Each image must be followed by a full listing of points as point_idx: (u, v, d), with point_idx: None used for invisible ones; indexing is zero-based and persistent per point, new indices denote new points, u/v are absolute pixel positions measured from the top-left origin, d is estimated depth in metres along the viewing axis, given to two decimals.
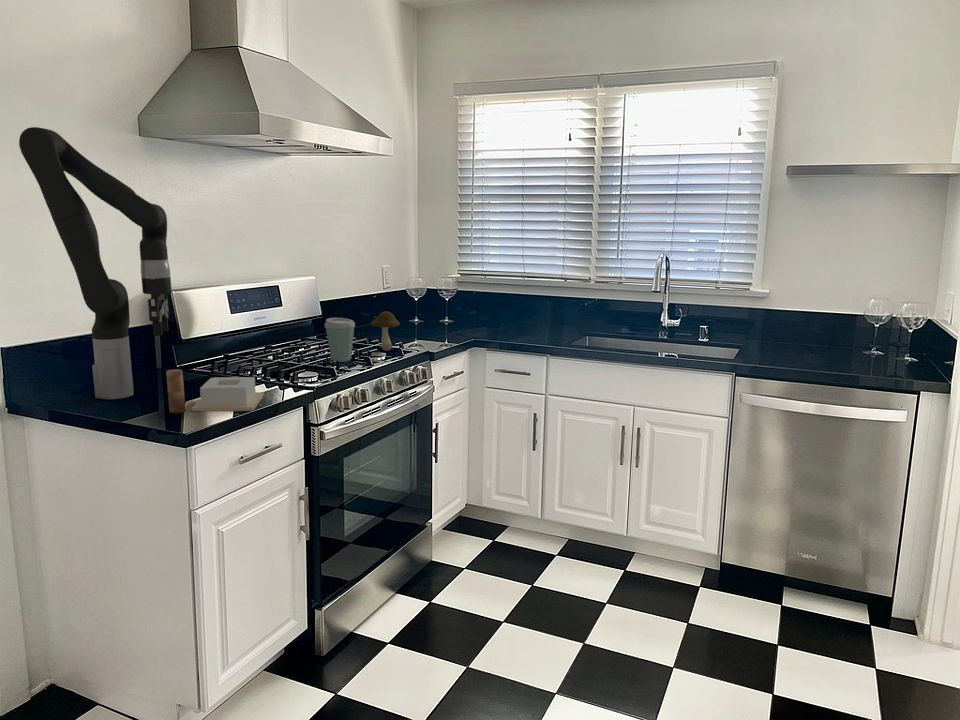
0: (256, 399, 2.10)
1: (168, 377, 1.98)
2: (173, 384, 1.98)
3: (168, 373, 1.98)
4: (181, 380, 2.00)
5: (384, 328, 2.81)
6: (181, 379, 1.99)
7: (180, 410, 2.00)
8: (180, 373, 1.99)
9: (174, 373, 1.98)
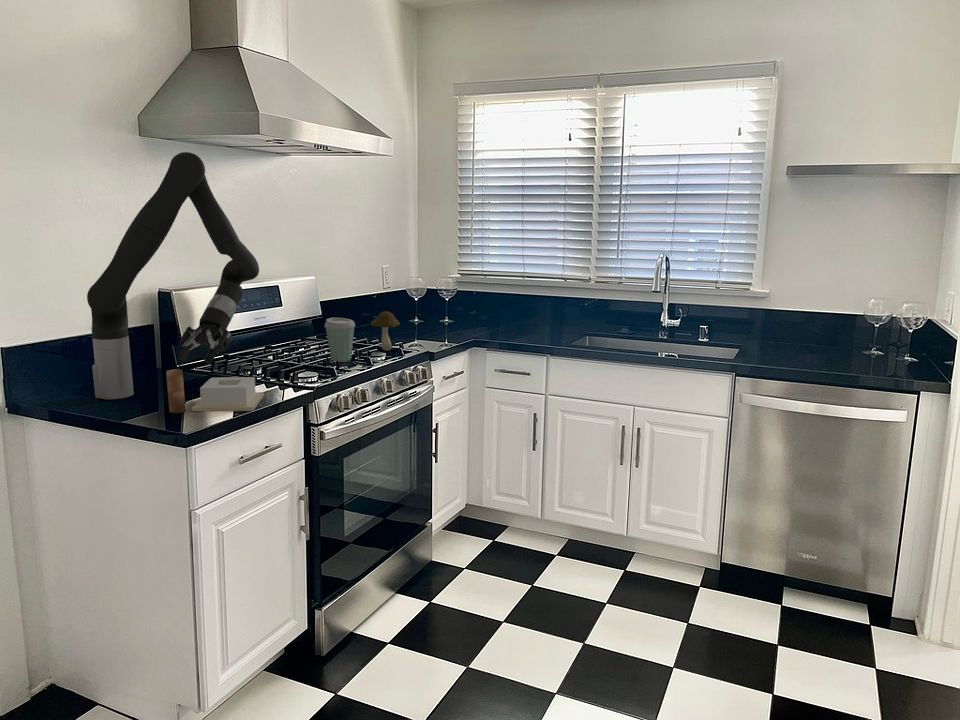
0: (256, 399, 2.10)
1: (168, 377, 1.98)
2: (173, 384, 1.98)
3: (168, 373, 1.98)
4: (181, 380, 2.00)
5: (384, 328, 2.81)
6: (181, 379, 1.99)
7: (180, 410, 2.00)
8: (180, 373, 1.99)
9: (174, 373, 1.98)
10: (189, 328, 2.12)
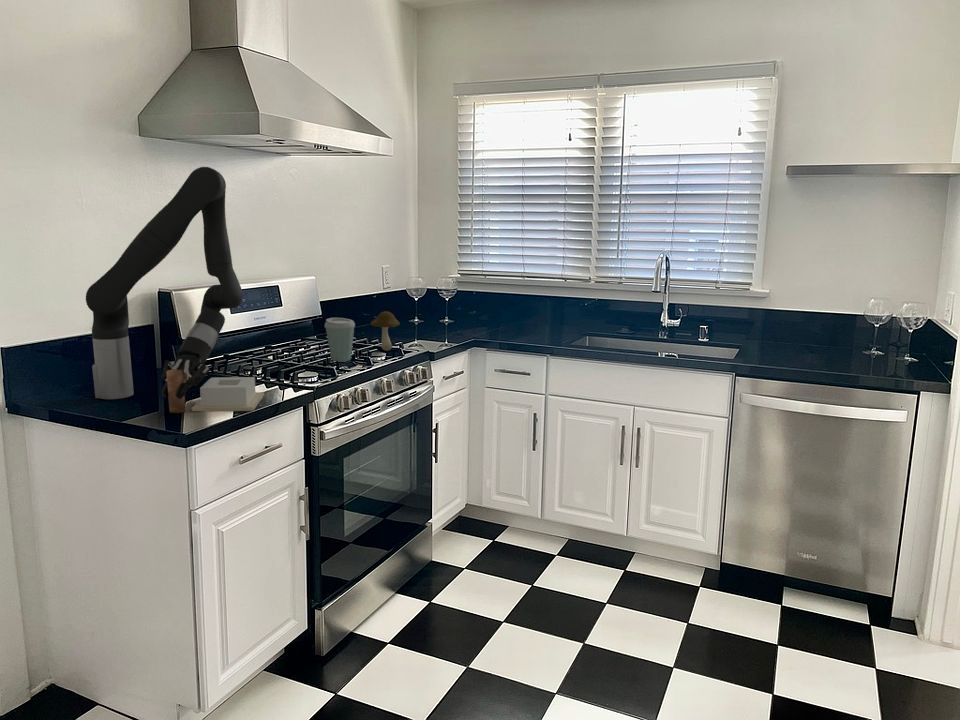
0: (256, 399, 2.10)
1: (168, 377, 1.98)
2: (173, 384, 1.98)
3: (168, 373, 1.98)
4: (181, 380, 2.00)
5: (384, 328, 2.81)
6: (181, 379, 1.99)
7: (180, 410, 2.00)
8: (180, 373, 1.99)
9: (174, 373, 1.98)
10: (167, 362, 2.05)
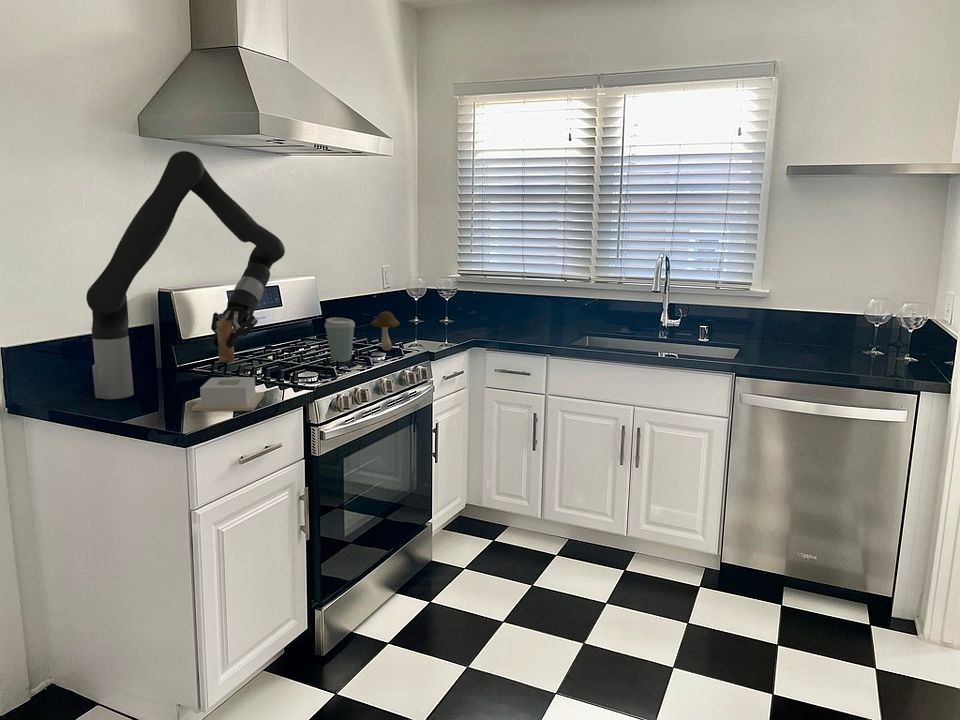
0: (256, 399, 2.10)
1: (218, 327, 2.03)
2: (223, 334, 2.04)
3: (218, 323, 2.03)
4: (231, 330, 2.05)
5: (384, 328, 2.81)
6: (231, 329, 2.05)
7: (230, 360, 2.06)
8: (230, 323, 2.04)
9: (224, 323, 2.03)
10: (216, 313, 2.10)
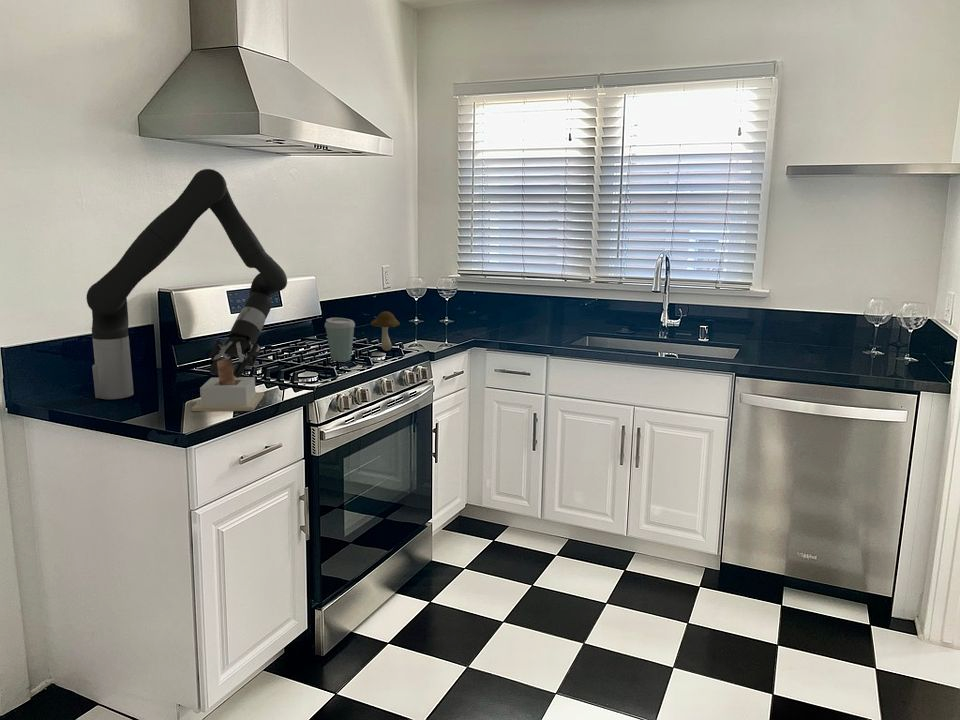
0: (256, 399, 2.10)
1: (219, 368, 2.05)
2: (224, 375, 2.05)
3: (219, 364, 2.05)
4: (232, 370, 2.06)
5: (384, 328, 2.81)
6: (231, 369, 2.06)
7: None
8: (230, 363, 2.06)
9: (225, 364, 2.04)
10: (218, 341, 2.12)
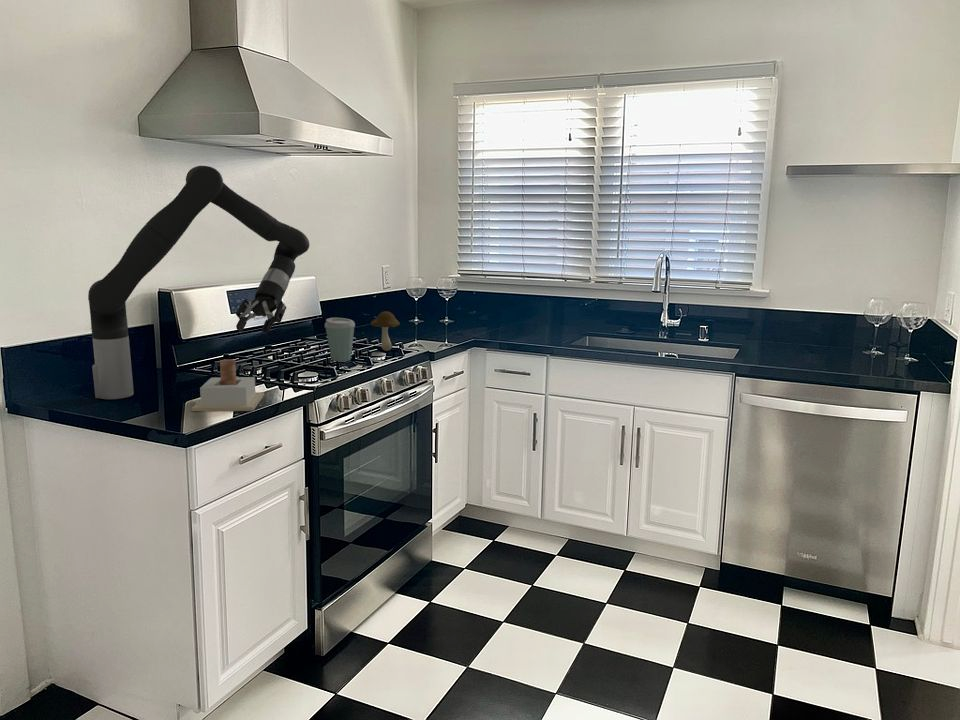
0: (256, 399, 2.10)
1: (222, 366, 2.06)
2: (226, 373, 2.06)
3: (222, 362, 2.06)
4: (234, 370, 2.08)
5: (384, 328, 2.81)
6: (234, 368, 2.08)
7: None
8: (233, 363, 2.07)
9: (228, 362, 2.06)
10: (245, 300, 2.22)
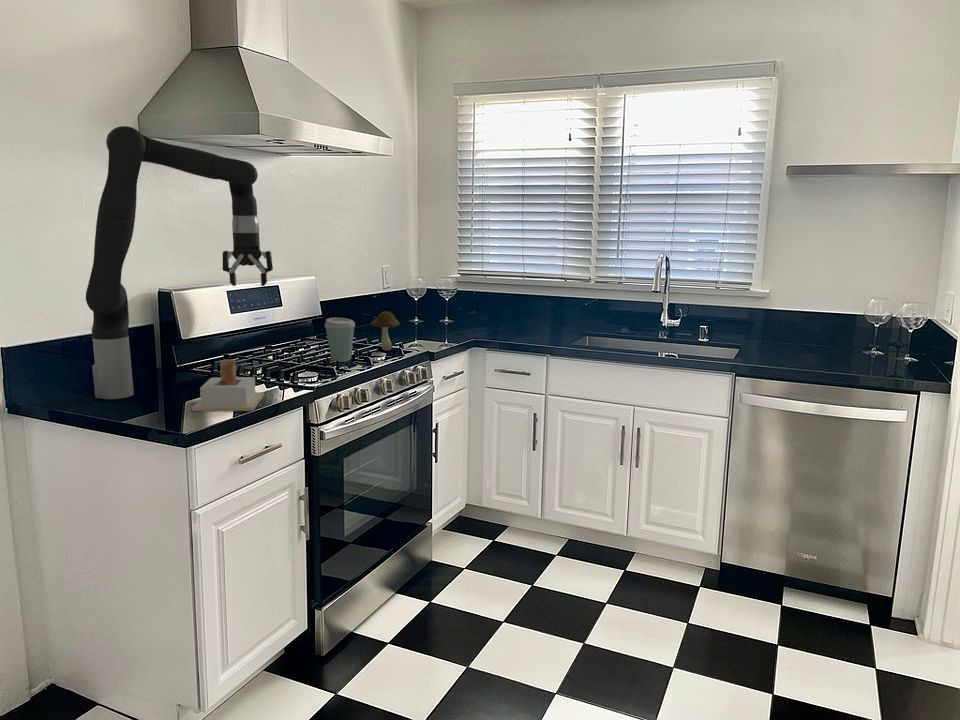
0: (256, 399, 2.10)
1: (222, 367, 2.06)
2: (226, 374, 2.06)
3: (222, 363, 2.05)
4: (234, 370, 2.07)
5: (384, 328, 2.81)
6: (234, 369, 2.07)
7: None
8: (234, 363, 2.07)
9: (228, 363, 2.05)
10: (225, 253, 2.23)
